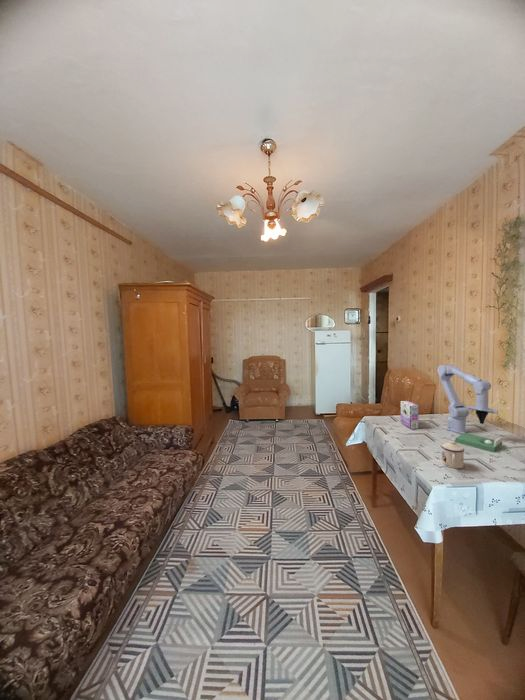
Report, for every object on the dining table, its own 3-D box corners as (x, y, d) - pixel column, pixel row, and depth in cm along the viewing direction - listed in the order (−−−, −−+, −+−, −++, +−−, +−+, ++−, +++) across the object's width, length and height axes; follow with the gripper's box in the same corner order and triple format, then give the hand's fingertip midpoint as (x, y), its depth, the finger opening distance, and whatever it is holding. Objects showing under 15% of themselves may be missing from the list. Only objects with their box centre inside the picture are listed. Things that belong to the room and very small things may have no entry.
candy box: (419, 429, 184) (418, 405, 183) (410, 429, 184) (410, 405, 184) (408, 422, 198) (408, 400, 197) (400, 423, 198) (400, 400, 197)
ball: (486, 448, 153) (481, 442, 155) (489, 447, 155) (484, 441, 157) (492, 445, 151) (487, 438, 153) (495, 444, 153) (490, 438, 155)
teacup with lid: (441, 459, 141) (441, 436, 140) (463, 462, 136) (463, 439, 136) (442, 469, 131) (442, 445, 130) (465, 473, 126) (465, 448, 125)
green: (455, 442, 161) (455, 434, 161) (464, 436, 169) (464, 428, 169) (495, 452, 146) (495, 443, 146) (503, 445, 154) (503, 437, 154)
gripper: (465, 399, 166) (464, 421, 167) (495, 404, 154) (495, 427, 155) (469, 398, 170) (469, 419, 171) (499, 402, 158) (499, 425, 159)
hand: (481, 423), depth 163 cm, fingers closed
